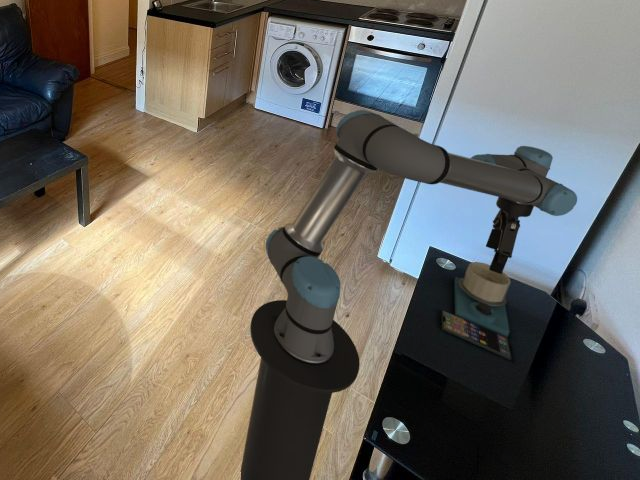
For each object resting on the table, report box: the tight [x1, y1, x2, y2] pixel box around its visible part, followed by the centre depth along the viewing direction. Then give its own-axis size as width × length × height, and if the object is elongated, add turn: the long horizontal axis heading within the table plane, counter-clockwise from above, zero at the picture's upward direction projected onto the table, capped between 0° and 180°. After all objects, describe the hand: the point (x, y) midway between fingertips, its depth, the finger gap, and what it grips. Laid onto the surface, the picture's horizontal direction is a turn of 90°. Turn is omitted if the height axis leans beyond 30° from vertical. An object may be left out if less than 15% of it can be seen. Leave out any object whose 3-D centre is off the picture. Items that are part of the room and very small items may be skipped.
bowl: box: [463, 261, 511, 302], centre depth 125 cm, size 10×10×7 cm
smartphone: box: [441, 309, 512, 361], centre depth 115 cm, size 8×15×1 cm, turn 54°
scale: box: [453, 276, 510, 338], centre depth 125 cm, size 18×12×4 cm, turn 142°
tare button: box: [477, 303, 491, 315], centre depth 119 cm, size 3×3×2 cm
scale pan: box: [458, 277, 507, 307], centre depth 126 cm, size 12×12×1 cm
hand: (493, 259), depth 123 cm, fingers open, 13 cm apart
